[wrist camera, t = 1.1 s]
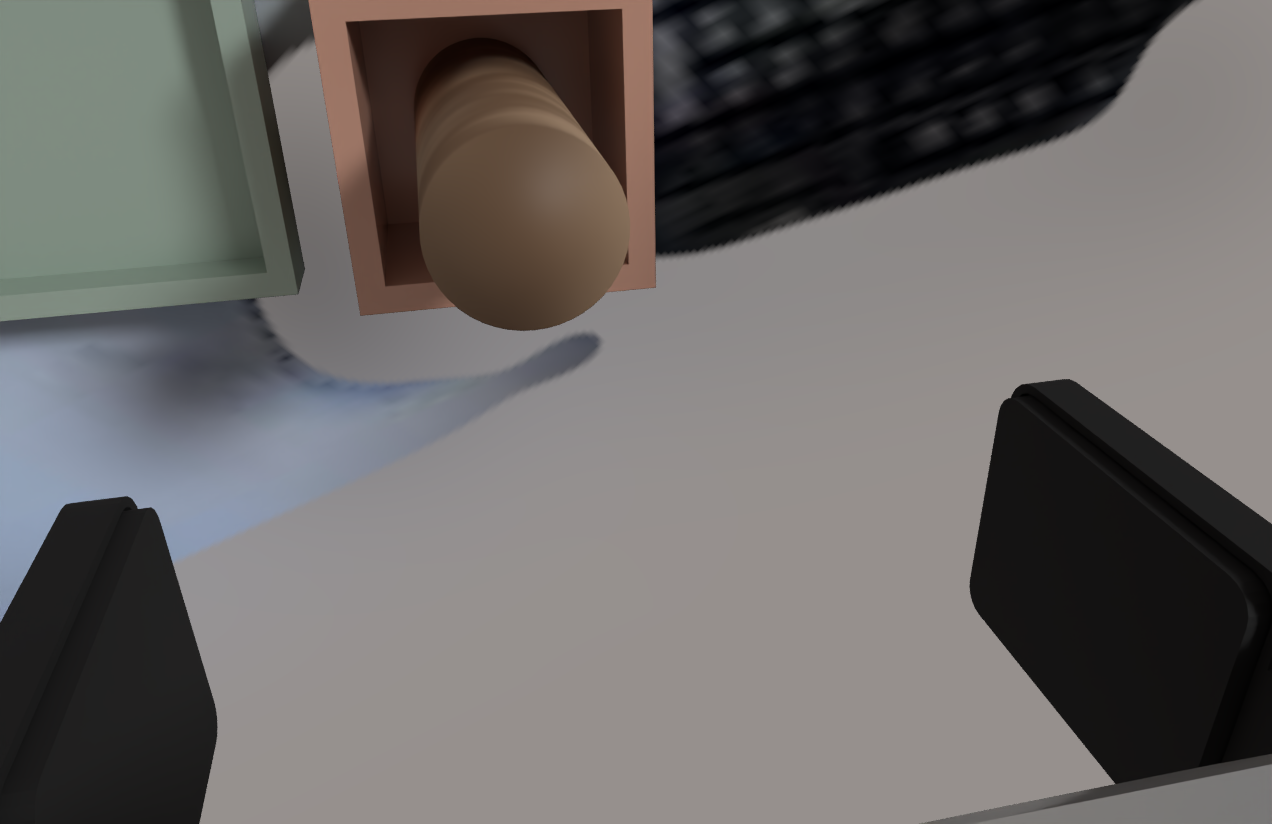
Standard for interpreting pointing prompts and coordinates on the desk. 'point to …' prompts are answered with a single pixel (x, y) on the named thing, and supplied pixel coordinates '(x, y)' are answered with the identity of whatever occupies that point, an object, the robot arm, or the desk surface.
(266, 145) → the sage tray
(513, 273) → the walnut peg
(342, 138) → the terracotta box
